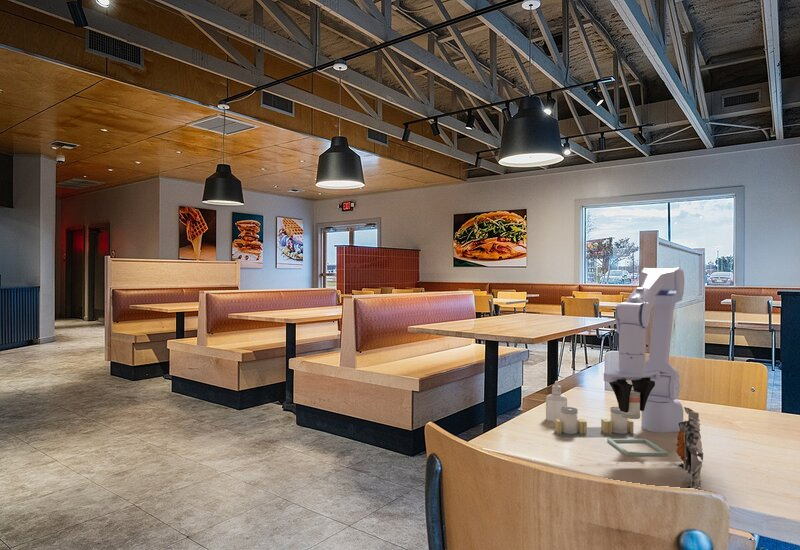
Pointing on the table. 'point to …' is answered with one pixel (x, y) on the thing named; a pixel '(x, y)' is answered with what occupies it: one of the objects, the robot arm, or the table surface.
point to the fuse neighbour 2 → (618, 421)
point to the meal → (690, 447)
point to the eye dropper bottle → (555, 403)
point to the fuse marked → (633, 406)
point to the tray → (659, 453)
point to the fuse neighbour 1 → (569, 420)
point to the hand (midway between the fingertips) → (631, 410)
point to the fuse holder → (594, 429)
